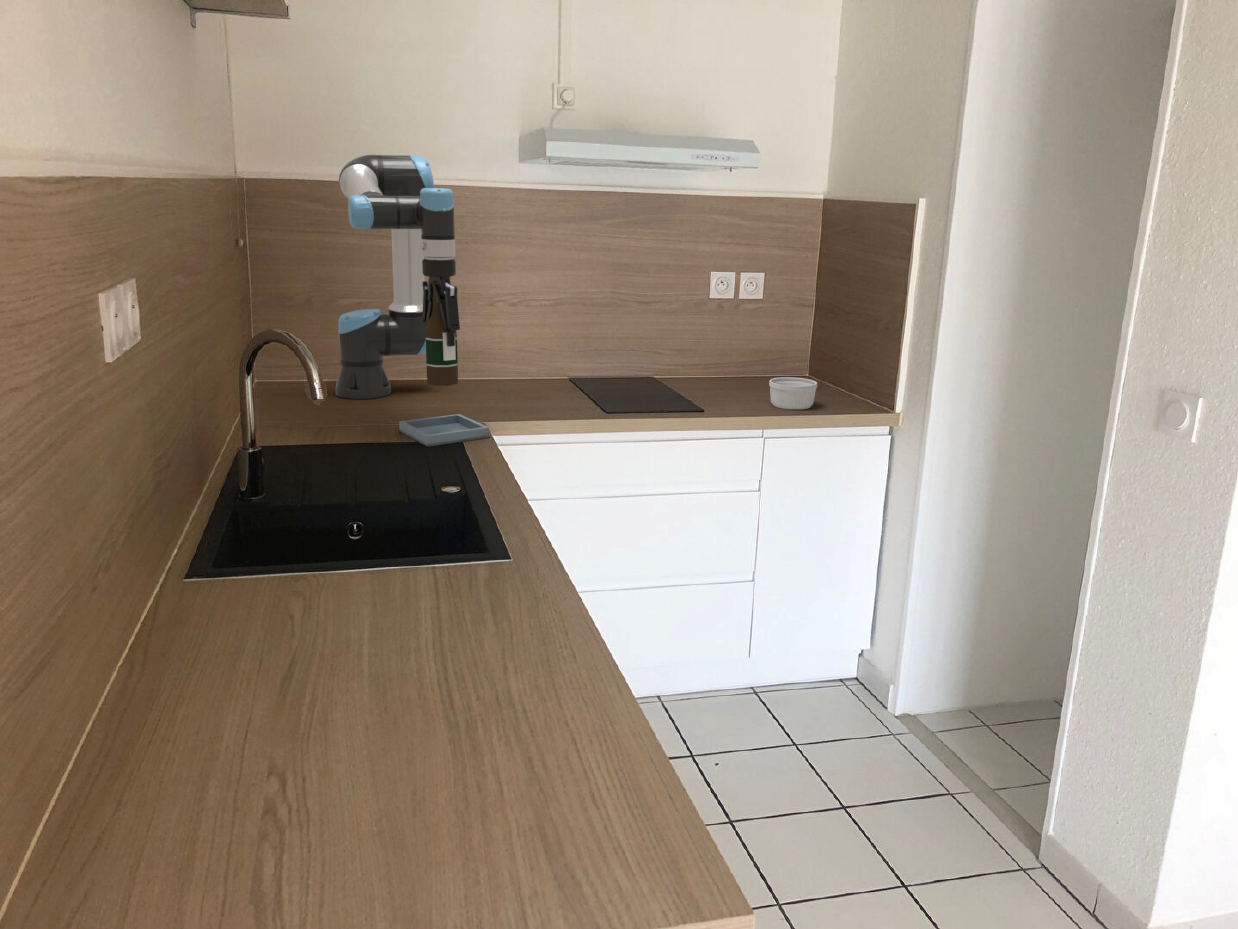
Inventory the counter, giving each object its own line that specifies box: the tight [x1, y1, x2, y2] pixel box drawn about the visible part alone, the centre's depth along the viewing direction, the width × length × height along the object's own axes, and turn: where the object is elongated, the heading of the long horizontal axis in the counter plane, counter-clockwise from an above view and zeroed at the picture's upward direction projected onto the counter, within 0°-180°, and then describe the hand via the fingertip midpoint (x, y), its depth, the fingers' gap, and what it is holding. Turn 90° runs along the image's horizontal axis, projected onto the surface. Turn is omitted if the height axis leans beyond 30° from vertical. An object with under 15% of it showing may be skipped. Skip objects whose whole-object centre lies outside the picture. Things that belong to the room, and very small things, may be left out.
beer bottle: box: [425, 280, 459, 387], centre depth 228 cm, size 8×8×24 cm
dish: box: [398, 413, 490, 448], centre depth 235 cm, size 16×16×2 cm
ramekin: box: [768, 376, 818, 411], centre depth 273 cm, size 13×13×7 cm
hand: (441, 356), depth 230 cm, fingers closed on beer bottle, 8 cm apart
